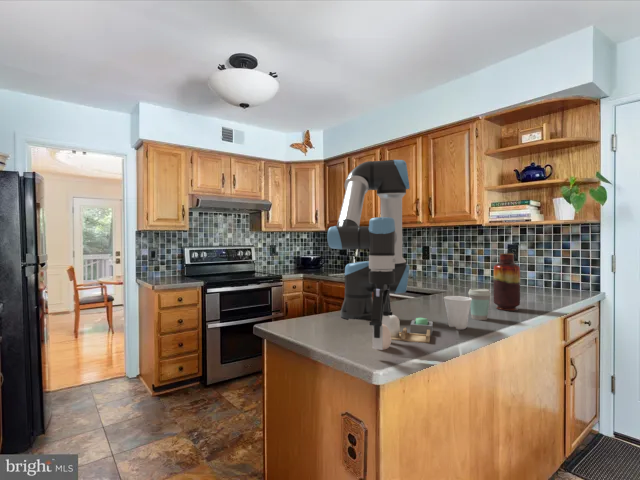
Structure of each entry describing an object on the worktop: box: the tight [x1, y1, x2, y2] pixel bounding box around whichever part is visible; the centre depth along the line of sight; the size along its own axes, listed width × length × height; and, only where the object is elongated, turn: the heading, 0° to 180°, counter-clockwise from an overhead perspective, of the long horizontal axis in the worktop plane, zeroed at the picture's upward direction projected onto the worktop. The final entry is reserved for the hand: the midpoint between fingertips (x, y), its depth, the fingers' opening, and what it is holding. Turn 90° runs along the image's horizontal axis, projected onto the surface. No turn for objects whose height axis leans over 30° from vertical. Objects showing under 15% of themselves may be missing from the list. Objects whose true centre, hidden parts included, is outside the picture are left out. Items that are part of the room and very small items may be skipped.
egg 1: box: [382, 324, 392, 350], centre depth 104 cm, size 6×6×8 cm
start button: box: [415, 317, 429, 325], centre depth 122 cm, size 4×4×4 cm
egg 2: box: [388, 314, 401, 338], centre depth 117 cm, size 5×5×7 cm
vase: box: [493, 253, 521, 312], centre depth 167 cm, size 11×11×26 cm
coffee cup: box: [467, 288, 491, 321], centre depth 147 cm, size 8×9×12 cm
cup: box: [443, 295, 472, 330], centre depth 132 cm, size 10×10×11 cm
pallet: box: [391, 327, 431, 344], centre depth 115 cm, size 16×8×3 cm, turn 71°
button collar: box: [409, 319, 434, 336], centre depth 122 cm, size 7×7×4 cm
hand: (381, 342), depth 104 cm, fingers open, 13 cm apart
